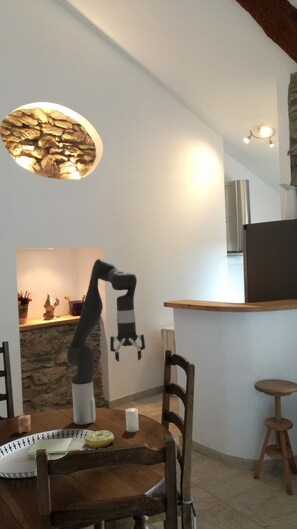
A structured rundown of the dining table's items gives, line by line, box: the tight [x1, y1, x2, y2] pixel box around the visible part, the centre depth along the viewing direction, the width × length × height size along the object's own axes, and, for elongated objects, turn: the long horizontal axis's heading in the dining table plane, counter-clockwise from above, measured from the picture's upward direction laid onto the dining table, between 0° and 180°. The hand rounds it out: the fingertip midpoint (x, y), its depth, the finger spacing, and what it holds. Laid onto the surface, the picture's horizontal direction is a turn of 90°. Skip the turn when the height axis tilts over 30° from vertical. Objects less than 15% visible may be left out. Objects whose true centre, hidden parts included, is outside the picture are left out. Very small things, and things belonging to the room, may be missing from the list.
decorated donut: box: [84, 430, 115, 449], centre depth 157 cm, size 10×11×4 cm
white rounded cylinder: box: [125, 407, 140, 433], centre depth 169 cm, size 5×5×8 cm
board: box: [27, 437, 74, 456], centre depth 155 cm, size 14×12×1 cm
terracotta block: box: [17, 414, 32, 434], centre depth 175 cm, size 4×4×6 cm
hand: (128, 360), depth 170 cm, fingers open, 8 cm apart
